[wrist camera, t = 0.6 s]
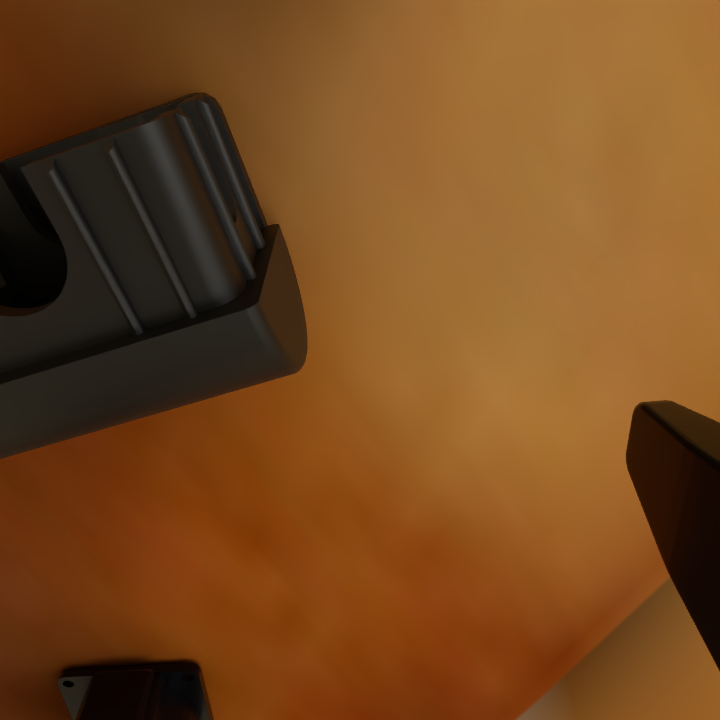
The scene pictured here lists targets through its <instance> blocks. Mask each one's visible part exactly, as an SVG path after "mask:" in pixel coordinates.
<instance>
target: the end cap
mask: <svg viewBox="0 0 720 720" xmlns="http://www.w3.org/2000/svg"><path fill="white" fill-rule="evenodd" d="M306 354H307V329H306V321H305V315H304V309H303V304H302V299H301V295H300V291H299V287H298V283H297V279H296V275H295V272H294V268H293V265H292V261H291V258H290V255H289V252H288V249H287V246H286V243H285V240H284V237H283V235H282V232H281V229H280V226H279V224H273V225H269V226H267V223H266V220H265V217H264V215H263V212H262V210H261V207H260V205H259V202H258V199H257V197H256V194H255V192H254V189H253V187H252V184H251V182H250V179H249V177H248V174H247V171H246V169H245V166H244V164H243V161H242V159H241V156H240V154H239V151H238V149H237V146H236V144H235V141H234V138H233V136H232V133H231V131H230V128H229V126H228V123H227V121H226V118H225V116H224V113H223V110H222V108H221V107H220V105H219V104H218V102H217V101H216V99H215V98H213V97H212V96H210V95H208V94H206V93H193V94H191V95H188V96H185V97H182V98H179V99H176V100H173V101H171V102H168V103H165V104H162V105H159V106H156V107H154V108H151V109H148V110H145V111H142V112H139V113H137V114H134V115H131V116H128V117H125V118H122V119H120V120H117V121H114V122H111V123H108V124H105V125H103V126H100V127H97V128H94V129H91V130H88V131H86V132H83V133H80V134H77V135H74V136H71V137H68V138H66V139H63V140H60V141H57V142H54V143H51V144H49V145H46V146H43V147H40V148H37V149H34V150H32V151H29V152H26V153H23V154H20V155H17V156H15V157H12V158H9V159H6V160H3V161H0V459H1V458H5V457H8V456H12V455H15V454H18V453H22V452H25V451H29V450H32V449H36V448H39V447H43V446H46V445H50V444H53V443H56V442H60V441H63V440H67V439H70V438H74V437H77V436H81V435H84V434H87V433H91V432H94V431H98V430H101V429H105V428H108V427H112V426H115V425H118V424H122V423H125V422H129V421H132V420H136V419H139V418H143V417H146V416H149V415H153V414H156V413H160V412H163V411H167V410H170V409H174V408H177V407H181V406H184V405H187V404H191V403H194V402H198V401H201V400H205V399H208V398H212V397H215V396H218V395H222V394H225V393H229V392H232V391H236V390H239V389H243V388H246V387H249V386H253V385H256V384H260V383H263V382H267V381H270V380H274V379H277V378H280V377H284V376H287V375H291V374H294V373H296V372H298V371H299V370H300V369H301V368H302V366H303V364H304V363H305V360H306Z"/></svg>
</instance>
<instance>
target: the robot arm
mask: <svg viewBox="0 0 720 720" xmlns="http://www.w3.org/2000/svg"><path fill="white" fill-rule="evenodd" d="M626 463H627V468H628V472H629V474H630V477H631V479H632V482H633V485H634V487H635V490H636V492H637V495H638V497H639V500H640V503H641V505H642V508H643V510H644V513H645V515H646V518H647V521H648V523H649V526H650V528H651V531H652V534H653V536H654V539H655V541H656V544H657V546H658V549H659V552H660V554H661V557H662V559H663V561H664V564H665V566H666V568H667V571H668V573H669V575H670V577H671V579H672V581H673V583H674V585H675V587H676V589H677V591H678V593H679V595H680V596H681V598H682V600H683V602H684V604H685V606H686V608H687V610H688V612H689V614H690V616H691V617H692V619H693V621H694V623H695V625H696V627H697V629H698V631H699V632H700V635H701V636H702V638H703V640H704V642H705V644H706V646H707V648H708V650H709V652H710V653H711V655H712V657H713V659H714V661H715V663H716V665H717V667H718V669H719V671H720V423H719V422H717V421H715V420H713V419H710V418H708V417H706V416H704V415H701V414H699V413H697V412H695V411H693V410H690V409H688V408H686V407H684V406H681V405H679V404H677V403H675V402H672V401H668V400H663V401H650V402H641V403H639V404H638V405H637V406H636V407H635V409H634V411H633V415H632V421H631V427H630V433H629V439H628V444H627V450H626ZM57 685H58V687H59V689H60V692H61V694H62V696H63V699H64V701H65V704H66V706H67V708H68V711H69V713H70V715H71V718H72V720H213V717H212V712H211V708H210V704H209V700H208V696H207V692H206V688H205V684H204V680H203V676H202V672H201V669H200V667H199V666H198V665H196V664H193V663H181V664H161V665H141V666H122V667H102V668H82V669H67V670H64V671H62V672H61V674H60V676H59V679H58V681H57Z"/></svg>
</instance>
